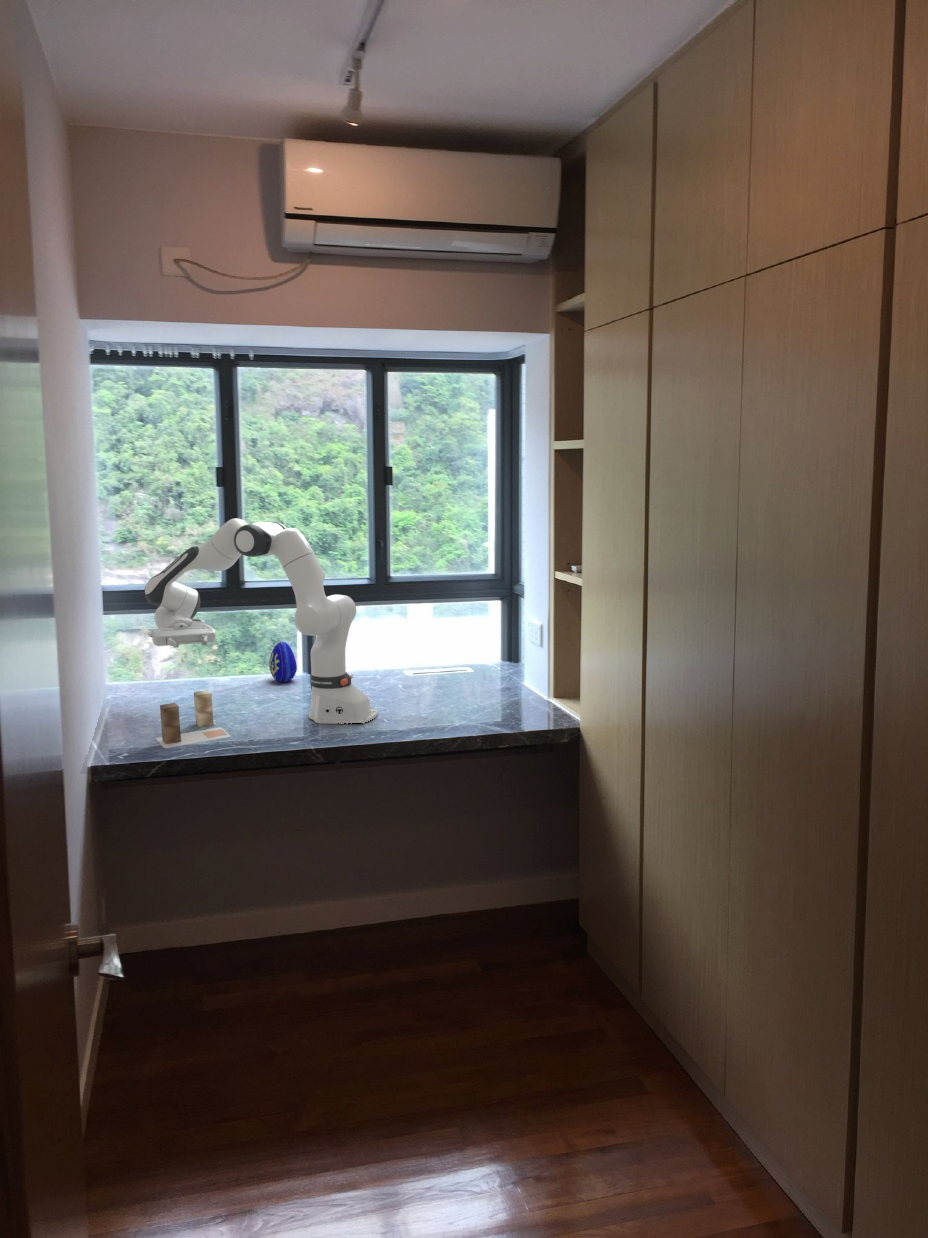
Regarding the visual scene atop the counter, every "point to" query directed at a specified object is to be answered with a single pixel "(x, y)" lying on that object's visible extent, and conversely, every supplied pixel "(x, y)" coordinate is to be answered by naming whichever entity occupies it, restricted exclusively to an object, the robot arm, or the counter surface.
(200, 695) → the birch pillar
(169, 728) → the walnut pillar
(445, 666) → the counter surface
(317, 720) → the robot arm
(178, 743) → the white mat
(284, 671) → the ornament
